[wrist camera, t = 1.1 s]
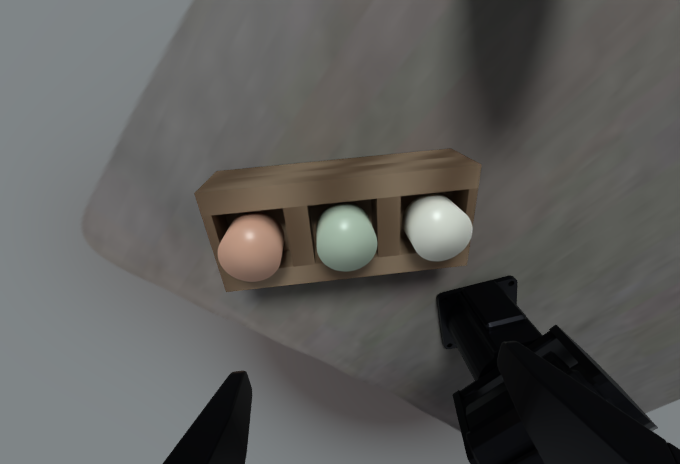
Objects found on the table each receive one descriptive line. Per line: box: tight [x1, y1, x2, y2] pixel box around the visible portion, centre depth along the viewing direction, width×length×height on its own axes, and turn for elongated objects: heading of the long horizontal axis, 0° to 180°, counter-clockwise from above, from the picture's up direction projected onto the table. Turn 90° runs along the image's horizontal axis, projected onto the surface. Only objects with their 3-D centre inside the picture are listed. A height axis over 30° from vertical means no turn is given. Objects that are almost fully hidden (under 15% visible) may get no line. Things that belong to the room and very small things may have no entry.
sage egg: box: [316, 202, 377, 272], centre depth 17 cm, size 3×3×2 cm
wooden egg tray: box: [194, 149, 482, 292], centre depth 19 cm, size 15×6×4 cm, turn 95°
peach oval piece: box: [218, 212, 285, 282], centre depth 16 cm, size 3×3×2 cm
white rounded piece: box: [402, 193, 472, 261], centre depth 17 cm, size 3×3×2 cm
